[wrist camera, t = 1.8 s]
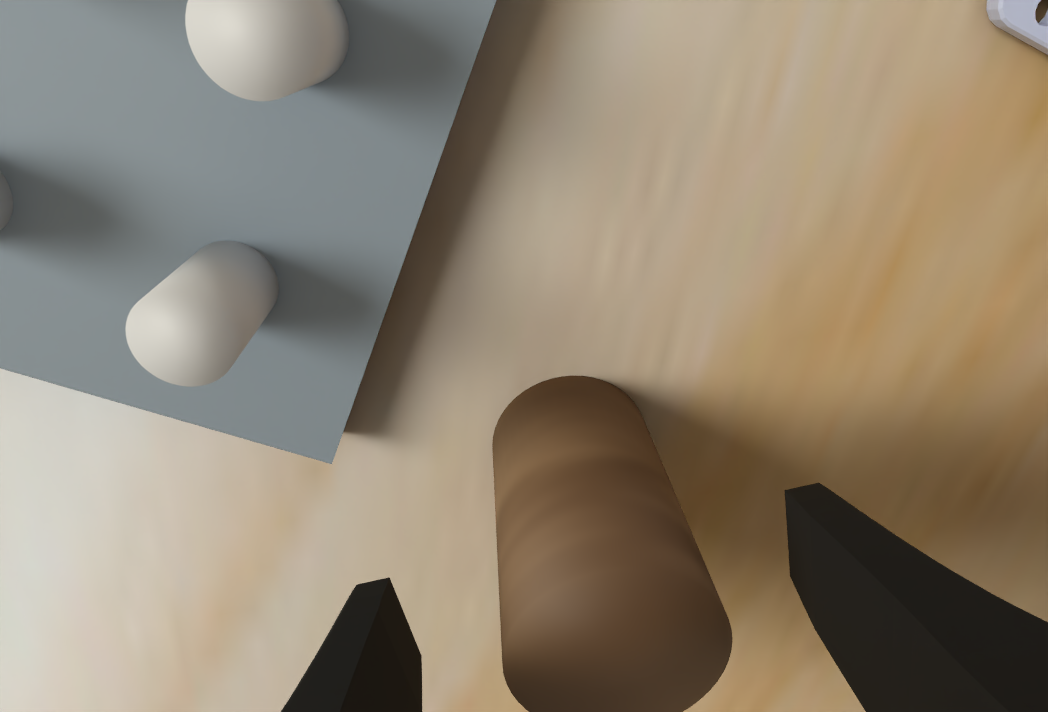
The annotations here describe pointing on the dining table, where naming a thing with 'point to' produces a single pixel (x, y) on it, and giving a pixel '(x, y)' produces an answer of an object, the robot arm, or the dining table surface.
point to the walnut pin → (597, 560)
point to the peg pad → (218, 197)
